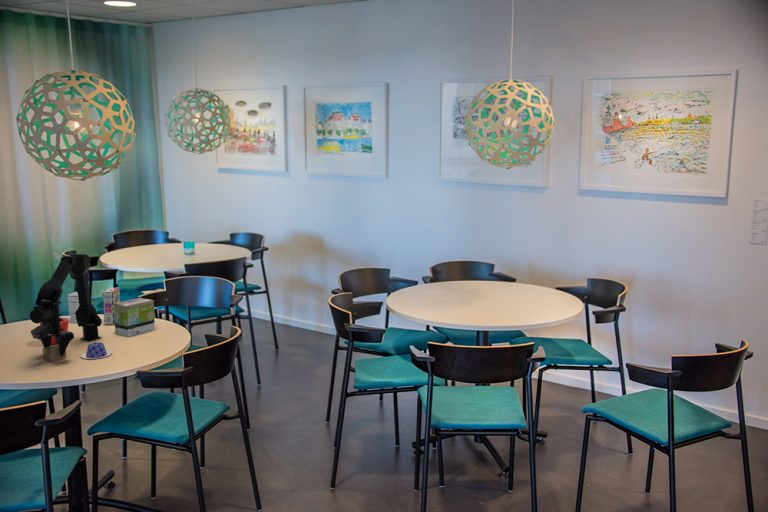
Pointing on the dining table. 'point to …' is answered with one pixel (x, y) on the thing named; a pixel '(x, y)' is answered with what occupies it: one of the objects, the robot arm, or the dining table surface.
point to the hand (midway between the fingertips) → (54, 354)
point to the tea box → (134, 317)
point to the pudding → (96, 351)
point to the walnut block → (53, 354)
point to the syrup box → (73, 306)
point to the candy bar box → (110, 304)
